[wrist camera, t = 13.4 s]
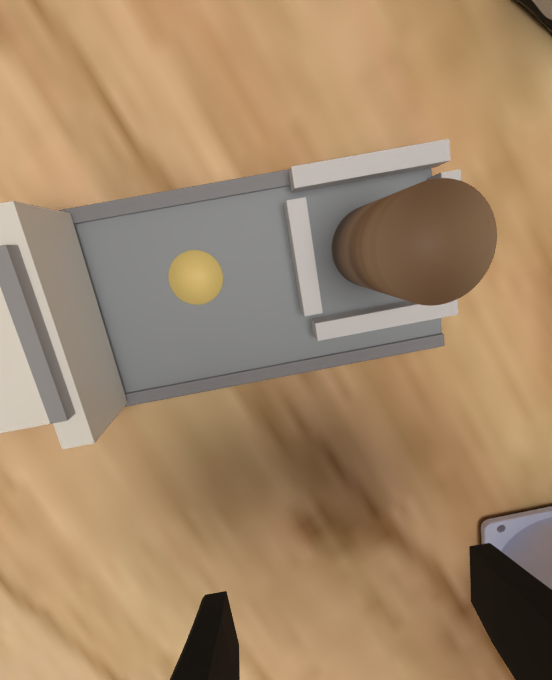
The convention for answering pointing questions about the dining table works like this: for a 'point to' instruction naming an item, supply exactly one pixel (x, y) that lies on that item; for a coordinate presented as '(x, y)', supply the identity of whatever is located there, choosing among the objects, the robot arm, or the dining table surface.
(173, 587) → the dining table surface
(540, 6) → the candy bar box
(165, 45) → the dining table surface
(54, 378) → the cover
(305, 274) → the board
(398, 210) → the peg
